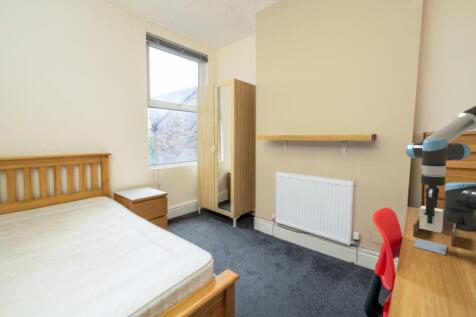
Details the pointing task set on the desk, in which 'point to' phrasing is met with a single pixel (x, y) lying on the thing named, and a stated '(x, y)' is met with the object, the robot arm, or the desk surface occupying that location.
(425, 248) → the felt pad
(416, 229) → the crate
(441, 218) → the cream block
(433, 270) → the desk surface
